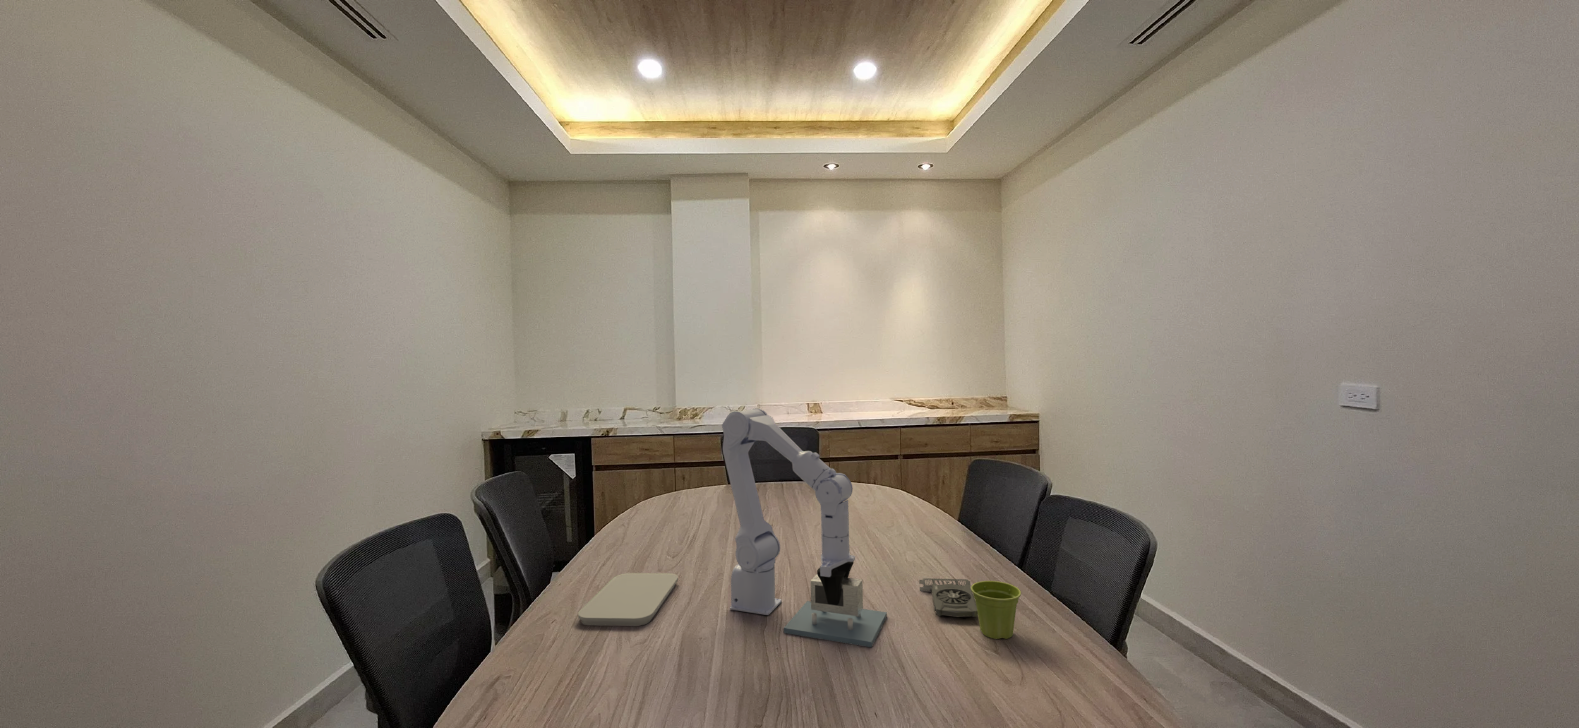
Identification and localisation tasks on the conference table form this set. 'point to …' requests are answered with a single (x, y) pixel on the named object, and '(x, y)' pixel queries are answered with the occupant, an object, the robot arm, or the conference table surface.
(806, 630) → the tray
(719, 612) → the conference table surface
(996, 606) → the plant pot
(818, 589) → the beige rectangular block
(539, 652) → the conference table surface
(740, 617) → the conference table surface
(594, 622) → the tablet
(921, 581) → the graphics card
